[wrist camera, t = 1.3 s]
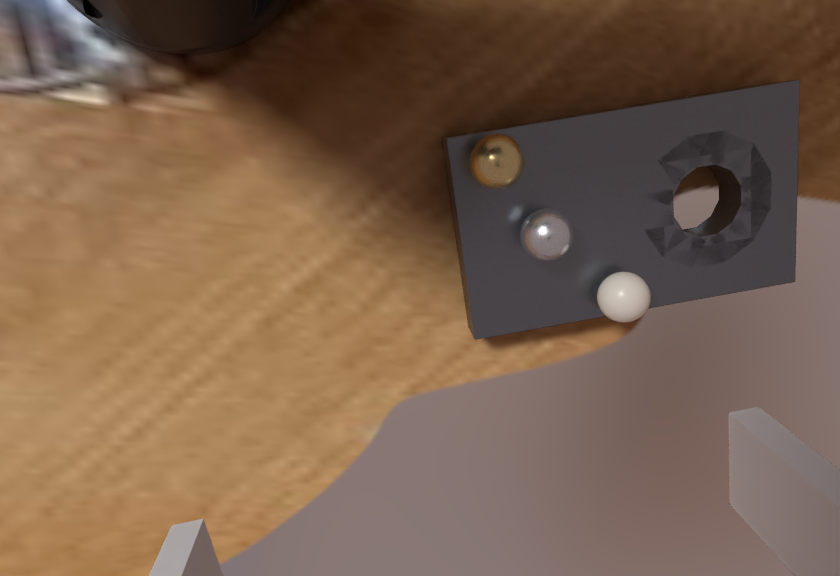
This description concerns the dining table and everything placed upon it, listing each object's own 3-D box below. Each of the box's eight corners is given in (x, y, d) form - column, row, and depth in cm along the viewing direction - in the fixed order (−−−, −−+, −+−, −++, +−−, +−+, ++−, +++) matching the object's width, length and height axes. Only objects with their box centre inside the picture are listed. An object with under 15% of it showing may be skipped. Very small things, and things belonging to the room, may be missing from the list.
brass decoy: (461, 137, 36) (470, 139, 33) (514, 128, 36) (528, 129, 33) (468, 190, 36) (478, 197, 33) (519, 182, 37) (534, 187, 34)
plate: (468, 327, 42) (474, 339, 39) (441, 137, 38) (446, 138, 36) (770, 272, 43) (795, 281, 40) (773, 82, 39) (799, 79, 36)
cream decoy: (587, 271, 39) (607, 283, 36) (635, 262, 39) (658, 274, 36) (591, 317, 39) (610, 333, 36) (638, 308, 40) (661, 324, 37)
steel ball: (511, 209, 37) (524, 217, 34) (561, 201, 37) (579, 208, 34) (517, 259, 38) (530, 271, 35) (566, 250, 38) (583, 261, 35)
